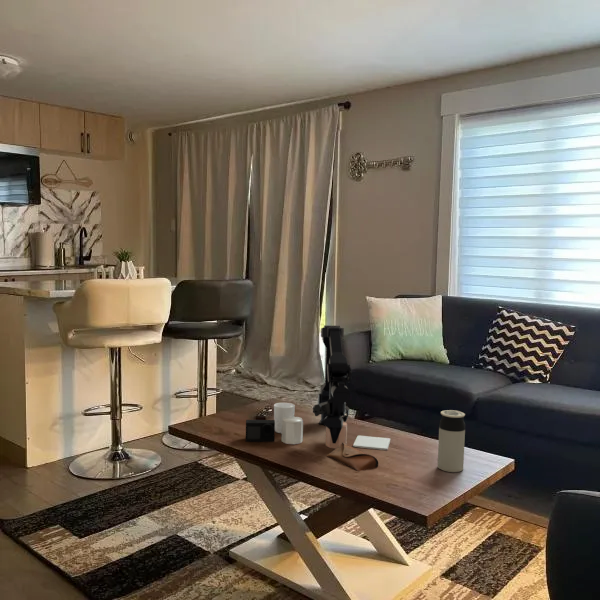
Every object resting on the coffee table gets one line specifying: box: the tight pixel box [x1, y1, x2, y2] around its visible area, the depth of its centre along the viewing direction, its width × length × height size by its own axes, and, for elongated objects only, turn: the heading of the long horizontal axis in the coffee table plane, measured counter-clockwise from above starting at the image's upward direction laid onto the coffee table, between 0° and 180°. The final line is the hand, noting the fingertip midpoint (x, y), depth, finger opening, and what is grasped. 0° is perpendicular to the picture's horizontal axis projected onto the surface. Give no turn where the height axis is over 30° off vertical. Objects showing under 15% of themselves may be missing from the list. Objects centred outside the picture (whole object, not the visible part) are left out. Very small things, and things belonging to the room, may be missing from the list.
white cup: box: [273, 402, 296, 434], centre depth 229 cm, size 8×8×10 cm
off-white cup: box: [281, 416, 304, 445], centre depth 217 cm, size 7×7×8 cm
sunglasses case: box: [325, 443, 379, 472], centre depth 198 cm, size 18×7×7 cm
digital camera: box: [245, 419, 276, 443], centre depth 217 cm, size 10×5×7 cm, turn 93°
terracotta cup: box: [325, 421, 348, 449], centre depth 214 cm, size 7×7×8 cm
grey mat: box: [352, 435, 391, 451], centre depth 217 cm, size 12×12×1 cm
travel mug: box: [437, 409, 466, 473], centre depth 193 cm, size 8×8×18 cm
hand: (336, 439), depth 214 cm, fingers open, 8 cm apart
